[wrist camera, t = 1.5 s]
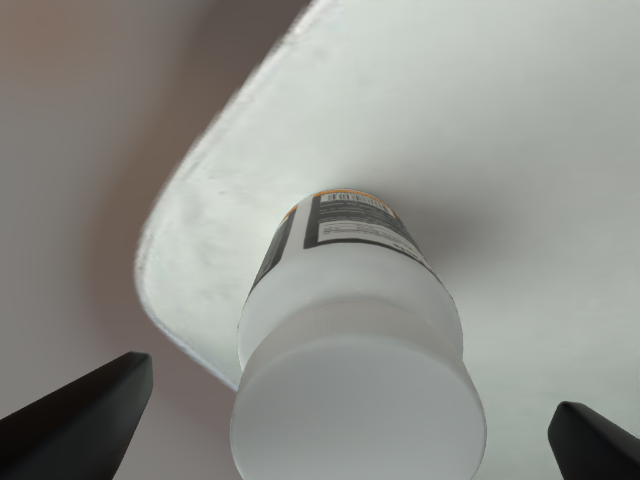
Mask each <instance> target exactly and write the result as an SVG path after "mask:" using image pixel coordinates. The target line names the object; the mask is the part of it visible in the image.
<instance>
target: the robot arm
mask: <svg viewBox="0 0 640 480" xmlns="http://www.w3.org/2000/svg"><path fill="white" fill-rule="evenodd" d="M152 388H153V369H152V357H151V355H150V354H149V353H146V352H137V351H130V352H128V353H126V354H124V355H122V356H120V357H118V358H117V359H115V360H113V361H111V362H109V363H107V364H105V365H103V366H101V367H99V368H98V369H96V370H94V371H92V372H90V373H88V374H86V375H84V376H83V377H81V378H79V379H77V380H75V381H73V382H71V383H69V384H67V385H65V386H63V387H62V388H60V389H58V390H56V391H54V392H52V393H50V394H48V395H47V396H44V397H43V398H41V399H39V400H37V401H35V402H33V403H31V404H29V405H28V406H26V407H24V408H22V409H20V410H18V411H16V412H14V413H12V414H11V415H9V416H7V417H5V418H3V419H1V420H0V480H112V479H113V477H114V475H115V473H116V471H117V469H118V468H119V466H120V463H121V461H122V459H123V457H124V455H125V453H126V450H127V448H128V446H129V443H130V441H131V439H132V437H133V434H134V432H135V430H136V427H137V425H138V423H139V420H140V418H141V416H142V414H143V411H144V409H145V407H146V405H147V402H148V400H149V397H150V395H151V392H152ZM548 440H549V443H550V446H551V448H552V451H553V453H554V456H555V458H556V461H557V463H558V466H559V469H560V471H561V474H562V476H563V479H564V480H640V440H639V439H637V438H636V437H634V436H633V435H631V434H630V433H628V432H627V431H625V430H623V429H622V428H620V427H619V426H617V425H616V424H614V423H612V422H611V421H609V420H608V419H606V418H605V417H603V416H601V415H600V414H598V413H597V412H595V411H594V410H592V409H590V408H589V407H587V406H586V405H584V404H582V403H577V402H568V401H563V402H561V403H560V404H559V405H558V406H557V409H556V411H555V414H554V416H553V418H552V421H551V423H550V425H549V428H548Z"/></svg>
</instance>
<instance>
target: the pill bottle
mask: <svg viewBox="0 0 640 480" xmlns="http://www.w3.org/2000/svg"><path fill="white" fill-rule="evenodd" d="M237 347H238V357H239V362H240V366H241V370H242V373H243V375H242V378H241V382H240V385H239V389H238V392H237V396H236V400H235V403H234V407H233V412H232V416H231V421H230V446H231V451H232V456H233V459H234V462H235V465H236V467H237V469H238V471H239V473H240V475H241V476H242V478H243V480H472V479H473V477H474V475H475V474H476V472H477V470H478V468H479V466H480V464H481V461H482V458H483V455H484V451H485V446H486V436H487V427H486V419H485V413H484V409H483V406H482V403H481V400H480V398H479V395H478V393H477V391H476V389H475V386H474V384H473V382H472V380H471V378H470V376H469V374H468V372H467V370H466V367H465V365H464V363H463V361H462V357H463V333H462V328H461V323H460V319H459V315H458V311H457V309H456V306H455V304H454V301H453V299H452V297H451V296H450V294H449V292H448V291H447V290H446V289H445V287H444V286H443V284H442V283H441V281H440V280H439V278H438V277H437V276H436V274H435V273H434V271H433V270H432V268H431V267H430V265H429V264H428V262H427V261H426V259H425V258H424V256H423V254H422V253H421V251H420V250H419V248H418V247H417V245H416V244H415V242H414V240H413V239H412V237H411V236H410V234H409V233H408V231H407V229H406V228H405V226H404V225H403V223H402V222H401V220H400V219H399V218H398V216H397V215H396V214H395V213H394V212H393V211H392V209H391V208H390V207H388V206H387V205H386V204H385V203H383V202H382V201H381V200H379V199H377V198H376V197H374V196H372V195H370V194H367V193H364V192H361V191H357V190H352V189H332V190H326V191H322V192H319V193H315V194H313V195H311V196H309V197H307V198H305V199H303V200H302V201H300V202H299V203H298V204H296V205H295V206H294V207H293V208H292V209H291V210H290V211H289V212H288V213H287V215H286V216H285V217H284V219H283V220H282V221H281V223H280V225H279V227H278V228H277V230H276V232H275V234H274V236H273V239H272V242H271V244H270V246H269V249H268V251H267V253H266V255H265V258H264V260H263V262H262V265H261V267H260V270H259V272H258V274H257V276H256V279H255V281H254V284H253V286H252V288H251V290H250V293H249V295H248V298H247V300H246V303H245V305H244V307H243V310H242V314H241V317H240V320H239V324H238V338H237Z"/></svg>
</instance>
